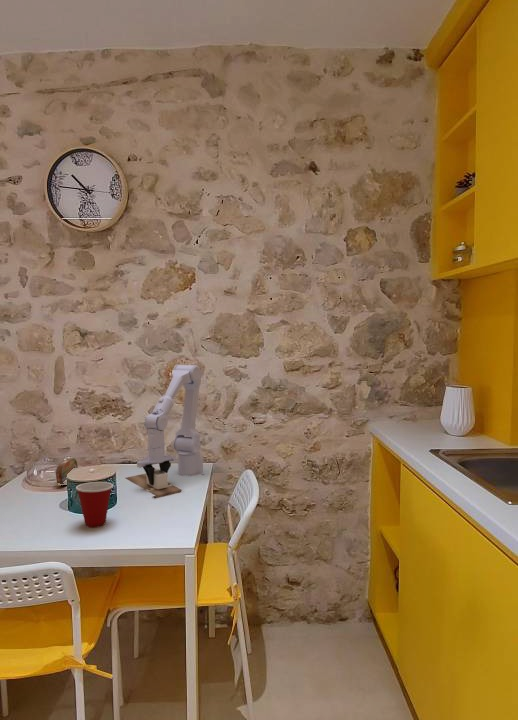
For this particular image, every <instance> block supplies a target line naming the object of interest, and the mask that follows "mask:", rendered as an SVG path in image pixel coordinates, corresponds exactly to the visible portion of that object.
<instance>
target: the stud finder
mask: <svg viewBox="0 0 518 720" xmlns="http://www.w3.org/2000/svg"><path fill="white" fill-rule="evenodd" d="M154 468H155V470H154V485H151V486H152V487H154V488H156V489H162V488H167V487H168V483H169V478H168V476H169V474H168V473H165V472H163V471H161V470H160V468H159V469H158V468H156V467H154ZM145 474H146V473H145ZM146 477H147V474H146ZM147 484H149V480H148V477H147ZM149 485H150V484H149Z"/></svg>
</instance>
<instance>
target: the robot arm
mask: <svg viewBox="0 0 518 720" xmlns="http://www.w3.org/2000/svg"><path fill="white" fill-rule="evenodd" d="M171 377H172V378H171V380H170V383H169V385H168V387H167V389H166V392H165V394H164V395H163V396H161V397H159V398H158V401H157V402H156V404H155V406H154V408H153V410H152V412H151V413H149V414H147V416H146V417H145V419H144V422H143V425H144V427H145V429H146V430H145V431H146V434H147V448H148V450H147V451H148V457H147V458H145V459H141V460H138V461H136V467H137V468H139V469H141V468H142V469H143V470H144V472H145V474H147V477H148V480H149V484H150V485H154V470H155V468H156V467H154V466H153V465H159V470H161V471H163V472H165V473H167V474H168V472H169V469H170V468H171V467H172V463H171V462H175V461H177V460H178V461H177V467H178V469H177V471H178V472H177V473H178V475H179V476H182V477H183V476H184V477H187V476H188V477H189V476H194V475H197V474H199V475H201V476H202V475H203V476H204V475H205V473H204V457H203V454H202V452H201V451H200V449H201V446H202V445H201V444H202V443H201V434H200V433H199V432H198V431H197V430H196V421H197V411H198V402H199V391H200V387H201V381H202V369H200V367H199V366H198V365H197V364H194V365H193V364H191V365H189V364H178V363H177V364H175V365H174V367H173V369H172V371H171ZM182 387H183V388H184V390H185V392H184V403H183V410H182V419H181V428H180V429H179V430H177V431H176V432H175V436H174V439H173V442H172V447H173V449H174V451H175V453H176V454H177V458H176V455H175V454H170V455H168V454H167V455H165V429H166V428H167V426H168V421H169V420H168V419H169V415H170V413H171V411H172V409H173V408H174V405H175V403H174V399H175V397H176V395H177V394H178V392H179V391H180V390H181V388H182ZM176 459H177V460H176Z"/></svg>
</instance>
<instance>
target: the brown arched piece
mask: <svg viewBox="0 0 518 720" xmlns="http://www.w3.org/2000/svg"><path fill="white" fill-rule="evenodd" d="M73 468H78V469H79V466H78V461H77V460H76V459H75V458H68V459H67V458H66V459H65V460H64V461H62V462H61V463H60V464H58V465H57V466H56V471H55V478H56V480H55V481H56V484H57V483H60V484H64V483H63V482H64V481H65V480H66V477H67V474H68V473H69V472H70V471H71V470H72V469H73Z"/></svg>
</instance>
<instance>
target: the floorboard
mask: <svg viewBox="0 0 518 720" xmlns="http://www.w3.org/2000/svg"><path fill="white" fill-rule="evenodd" d="M125 479H126V480H127V481H129V482H131V483H133V484H135V485H136V486H138V487H140V488H141V489H143V490H145V491H147V492H148V493H150V494H152V495H154V496H152V497H153V498H154V499H160V498H163V497H168V496H172V495H175V494H179V493H182V489H181V488H179V487H177V486H176V485H174V484H172V483H169V482H168V487H167V488H162V489H156V488H154V487H152V486H151V485H149V484H147V477H146V473H141V474H137V475H132V476H127V477H125Z"/></svg>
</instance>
